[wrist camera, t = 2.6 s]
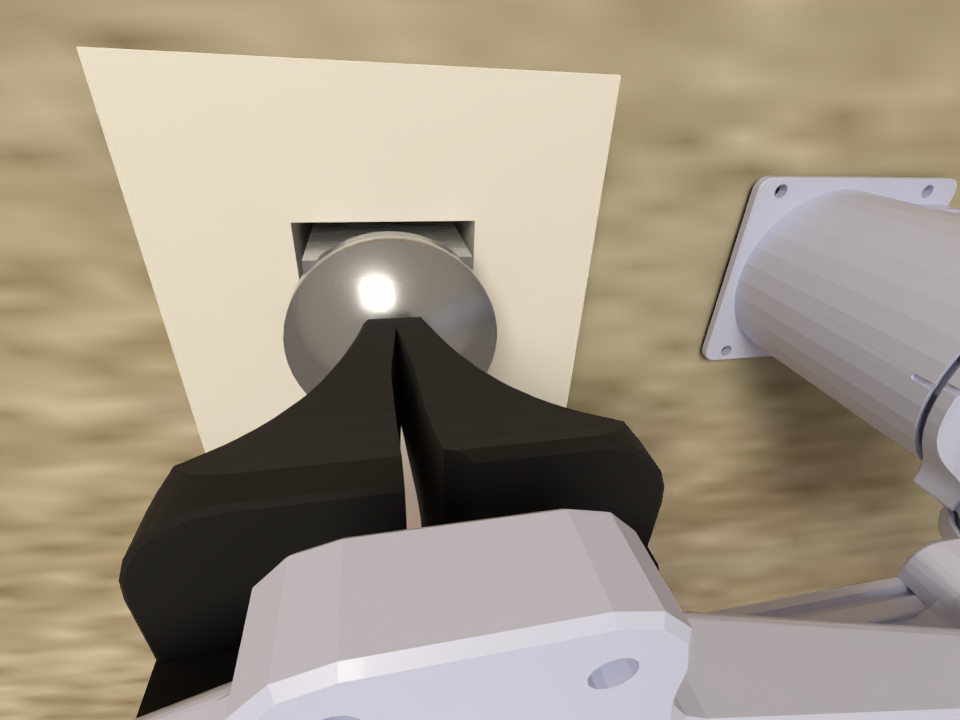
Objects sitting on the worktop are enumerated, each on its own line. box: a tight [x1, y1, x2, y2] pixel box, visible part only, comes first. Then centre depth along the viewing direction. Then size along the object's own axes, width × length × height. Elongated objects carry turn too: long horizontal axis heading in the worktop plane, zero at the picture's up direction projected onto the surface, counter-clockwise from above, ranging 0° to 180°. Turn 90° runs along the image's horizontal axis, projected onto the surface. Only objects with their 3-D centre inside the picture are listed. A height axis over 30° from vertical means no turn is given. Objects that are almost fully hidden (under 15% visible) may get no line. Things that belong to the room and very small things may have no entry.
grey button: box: [283, 221, 497, 394], centre depth 14 cm, size 5×5×5 cm
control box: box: [76, 47, 621, 529], centre depth 19 cm, size 12×24×4 cm, turn 178°
